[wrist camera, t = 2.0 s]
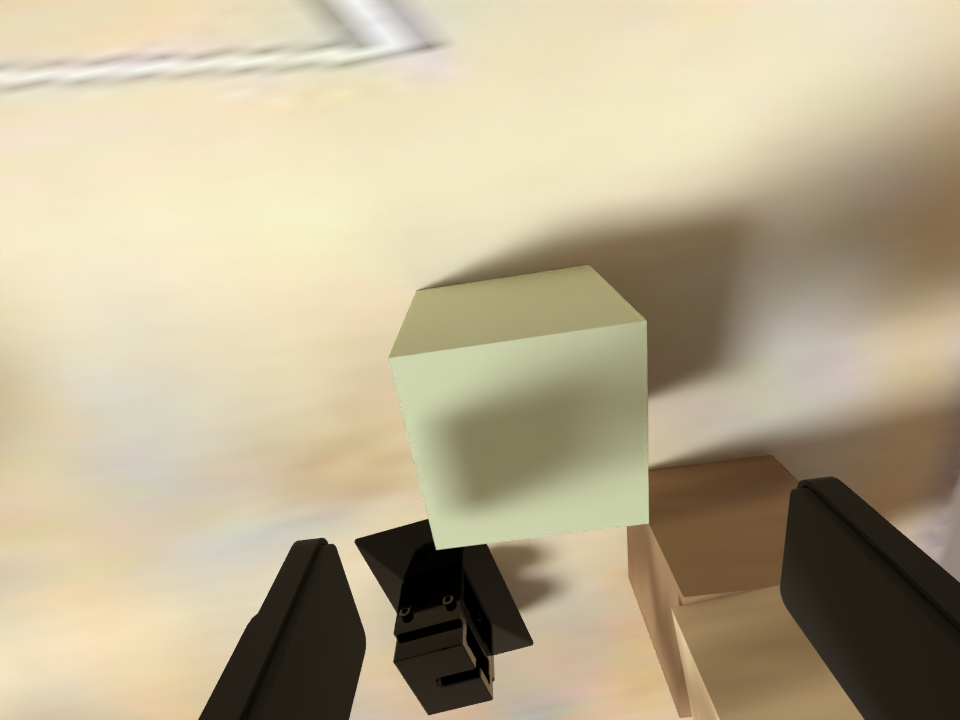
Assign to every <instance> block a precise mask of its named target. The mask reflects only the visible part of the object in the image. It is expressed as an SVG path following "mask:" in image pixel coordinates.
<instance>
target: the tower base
mask: <svg viewBox="0 0 960 720" xmlns="http://www.w3.org/2000/svg"><path fill="white" fill-rule="evenodd" d="M648 482H649V524H641V525H633V526H627V543H628V574H629V580H630V583H631V586H632V588H633V591H634V594H635V597H636V599H637V602H638V605H639V608H640V610H641V613H642V616H643V618H644V621H645V624H646V627H647V629H648V632H649V635H650V638H651V640H652V643H653V646H654V649H655V651H656V654H657V657H658V660H659V662H660V665H661V668H662V671H663V673H664V676H665V679H666V682H667V684H668V687H669V690H670V692H671V695H672V698H673V701H674V703H675V706H676V709H677V712H678V714H679V717H680V718H684V717H692V713H691V708H690V702H689V697H688V692H687V687H686V682H685V677H684V671H683V666H682V661H681V656H680V651H679V645H678V640H677V635H676V630H675V625H674V619H673V614H672V609H671V608H674V607H679V606H684V605H689V604H693V603H698V602H703V601H708V600H712V599H717V598H722V597H726V596H731V595H736V594H741V593H745V592H750V591H755V590H759V589H764V588H769V587H773V586H778V585H780V582H781V573H782V564H783V554H784V545H785V536H786V527H787V517H788V508H789V499H790V493H791V491H792V490H793V489H797V486H798V483H799V482H798V481H797V480H796V479H795V478H794V477H793V476H792V475H791V474H790V473H789V472H788V471H787V470H786V469H785V468H784V467H783V466H782V465H781V464H780V463H779V462H778V461H777V460H776V458H775V457H774V456H773V455H767V456H759V457H752V458H744V459H736V460H728V461H721V462H713V463H705V464H697V465H690V466H682V467H674V468H666V469H659V470H651V471H648Z"/></svg>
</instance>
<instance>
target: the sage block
mask: <svg viewBox="0 0 960 720" xmlns="http://www.w3.org/2000/svg"><path fill="white" fill-rule="evenodd" d="M388 359H389V363H390V367H391V371H392V375H393V379H394V383H395V387H396V391H397V395H398V399H399V403H400V407H401V411H402V415H403V419H404V423H405V427H406V431H407V435H408V439H409V443H410V447H411V451H412V455H413V459H414V463H415V467H416V471H417V475H418V479H419V483H420V487H421V491H422V495H423V499H424V503H425V507H426V511H427V515H428V519H429V523H430V527H431V531H432V535H433V539H434V543H435V547H436V550H439V549H447V548H455V547H464V546H472V545H480V544H488V543H496V542H504V541H512V540H520V539H528V538H536V537H544V536H552V535H560V534H568V533H576V532H584V531H593V530H601V529H609V528H617V527H625V526H633V525H641V524H649V482H648V379H647V320H646V319H645V318H644V317H643V316H642V315H640V314H639V313H638V312H637V311H636V310H635V309H634V308H633V307H632V306H631V305H630V304H629V303H628V302H627V301H626V300H625V299H624V298H623V297H622V296H621V295H620V294H619V293H618V292H617V291H616V290H615V289H614V288H613V287H612V286H611V285H610V284H608V283H607V282H606V281H605V280H604V279H603V278H602V277H601V276H600V275H599V274H598V273H597V272H596V271H595V270H594V269H593V268H592V267H591V266H590V265H582V266H576V267H569V268H563V269H556V270H549V271H543V272H536V273H530V274H523V275H516V276H510V277H503V278H497V279H490V280H483V281H477V282H470V283H464V284H457V285H451V286H444V287H437V288H431V289H424V290H418V291H416V293H415V295H414V298H413V300H412V303H411V305H410V307H409V310H408V312H407V315H406V317H405V319H404V322H403V324H402V327H401V329H400V331H399V334H398V336H397V339H396V341H395V343H394V346H393V348H392V350H391V353H390V355H389V358H388Z"/></svg>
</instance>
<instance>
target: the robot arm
mask: <svg viewBox="0 0 960 720" xmlns="http://www.w3.org/2000/svg"><path fill="white" fill-rule="evenodd" d="M780 594H781V597H782V601H783V603H784V605H785V607H786V608H787V610H788V611H789V613H790V614H791V616H792V617H793V619H794V620H795V621H796V623H797V624H798V626H799V627H800V629H801V630H802V631H803V633H804V634H805V636H806V637H807V639H808V640H809V641H810V643H811V644H812V646H813V647H814V649H815V650H816V651H817V653H818V654H819V656H820V657H821V659H822V660H823V661H824V663H825V664H826V666H827V667H828V669H829V670H830V671H831V673H832V674H833V676H834V677H835V679H836V680H837V681H838V683H839V684H840V686H841V687H842V689H843V690H844V691H845V693H846V694H847V696H848V697H849V699H850V700H851V701H852V703H853V704H854V706H855V707H856V709H857V710H858V711H859V713H860V714H861V716H862V717H863V719H864V720H960V583H959V582H958V581H957V580H956V579H955V578H954V577H952V576H951V575H950V574H949V573H948V572H947V571H945V570H944V569H943V568H942V567H941V566H940V565H938V564H937V563H936V562H935V561H934V560H933V559H931V558H930V557H929V556H928V555H927V554H926V553H924V552H923V551H922V550H921V549H920V548H919V547H917V546H916V545H915V544H914V543H913V542H912V541H910V540H909V539H908V538H907V537H906V536H905V535H903V534H902V533H901V532H900V531H899V530H898V529H896V528H895V527H894V526H893V525H892V524H891V523H889V522H888V521H887V520H886V519H885V518H884V517H882V516H881V515H880V514H879V513H878V512H877V511H875V510H874V509H873V508H872V507H871V506H870V505H868V504H867V503H866V502H865V501H864V500H863V499H861V498H860V497H859V496H858V495H857V494H856V493H854V492H853V491H852V490H851V489H850V488H849V487H847V486H846V485H845V484H844V483H843V482H842V481H840V480H839V479H837V478H835V477H825V478H816V479H808V480H802V481H800V482H799V483H798V486H797V489H793V490H792V491H791V493H790V499H789V508H788V517H787V527H786V536H785V545H784V554H783V564H782V573H781V582H780ZM365 650H366V636H365V632H364V629H363V626H362V623H361V620H360V617H359V614H358V611H357V608H356V605H355V602H354V599H353V596H352V593H351V590H350V587H349V584H348V581H347V578H346V575H345V572H344V569H343V566H342V563H341V560H340V557H339V554H338V551H337V548H336V546H335V545H334V544H328V542H327V540H326V539H325V538H317V539H309V540H300V541H296V542H295V543H294V544H293V546H292V547H291V549H290V551H289V553H288V555H287V557H286V559H285V561H284V563H283V565H282V567H281V569H280V571H279V573H278V575H277V577H276V579H275V581H274V583H273V585H272V587H271V589H270V591H269V593H268V595H267V597H266V599H265V601H264V602H263V604H262V606H261V608H260V610H259V612H258V614H256V615H255V616H254V617H253V618H252V619H251V621H250V622H249V624H248V625H247V627H246V629H245V631H244V633H243V634H242V636H241V638H240V640H239V642H238V644H237V646H236V648H235V650H234V652H233V654H232V656H231V658H230V660H229V662H228V663H227V665H226V667H225V669H224V671H223V673H222V675H221V677H220V679H219V681H218V683H217V685H216V687H215V689H214V690H213V692H212V694H211V696H210V698H209V700H208V702H207V704H206V706H205V708H204V710H203V712H202V714H201V716H200V718H199V719H198V720H349V717H350V713H351V709H352V704H353V700H354V696H355V692H356V688H357V684H358V680H359V676H360V671H361V667H362V663H363V659H364V655H365Z"/></svg>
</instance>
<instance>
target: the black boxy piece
mask: <svg viewBox="0 0 960 720" xmlns="http://www.w3.org/2000/svg"><path fill="white" fill-rule="evenodd" d="M355 544H356V546H357V547H358V549H359V551H360V552H361V554H362V556H363V557H364V559H365V561H366V562H367V564H368V566H369V567H370V569H371V571H372V572H373V574H374V576H375V577H376V579H377V581H378V582H379V584H380V586H381V587H382V589H383V591H384V592H385V594H386V596H387V597H388V599H389V601H390V602H391V604H392V606H393V607H394V609H395V611H396V612H397V617H396V623H395V629H394V636H395V637H396V639H397V641H396V647H395V654H394V660H393V662H394V664H395V666H396V667H397V669H398V670H399V672H400V673H401V675H402V676H403V678H404V679H405V681H406V682H407V684H408V685H409V687H410V688H411V690H412V691H413V693H414V695H415V696H416V698H417V699H418V701H419V702H420V704H421V705H422V707H423V708H424V710H425V711H426V713H427V714H428V715H432V714H436V713H440V712H444V711H448V710H453V709H457V708H461V707H465V706H469V705H474V704H478V703H482V702H486V701H490V700H493V683H492V682H493V681H494V680H495V678H494V655H497V654H500V653H504V652H508V651H512V650H516V649H520V648H523V647H527V646H531V645H533V640H532V638H531V636H530V634H529V632H528V630H527V628H526V626H525V624H524V622H523V619H522V617H521V615H520V613H519V611H518V609H517V607H516V605H515V603H514V601H513V599H512V596H511V594H510V592H509V590H508V588H507V586H506V584H505V582H504V580H503V578H502V575H501V573H500V571H499V569H498V567H497V565H496V563H495V561H494V559H493V557H492V554H491V552H490V550H489V548H488V546H487V544H480V545H472V546H464V547H455V548H447V549H439V550H436V547H435V543H434V539H433V535H432V531H431V527H430V523H429V519H426V520H423V521H419V522H415V523H412V524H408V525H405V526H401V527H398V528H394V529H390V530H387V531H383V532H380V533H376V534H372V535H369V536H365V537H362V538H358V539H356V540H355Z"/></svg>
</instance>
